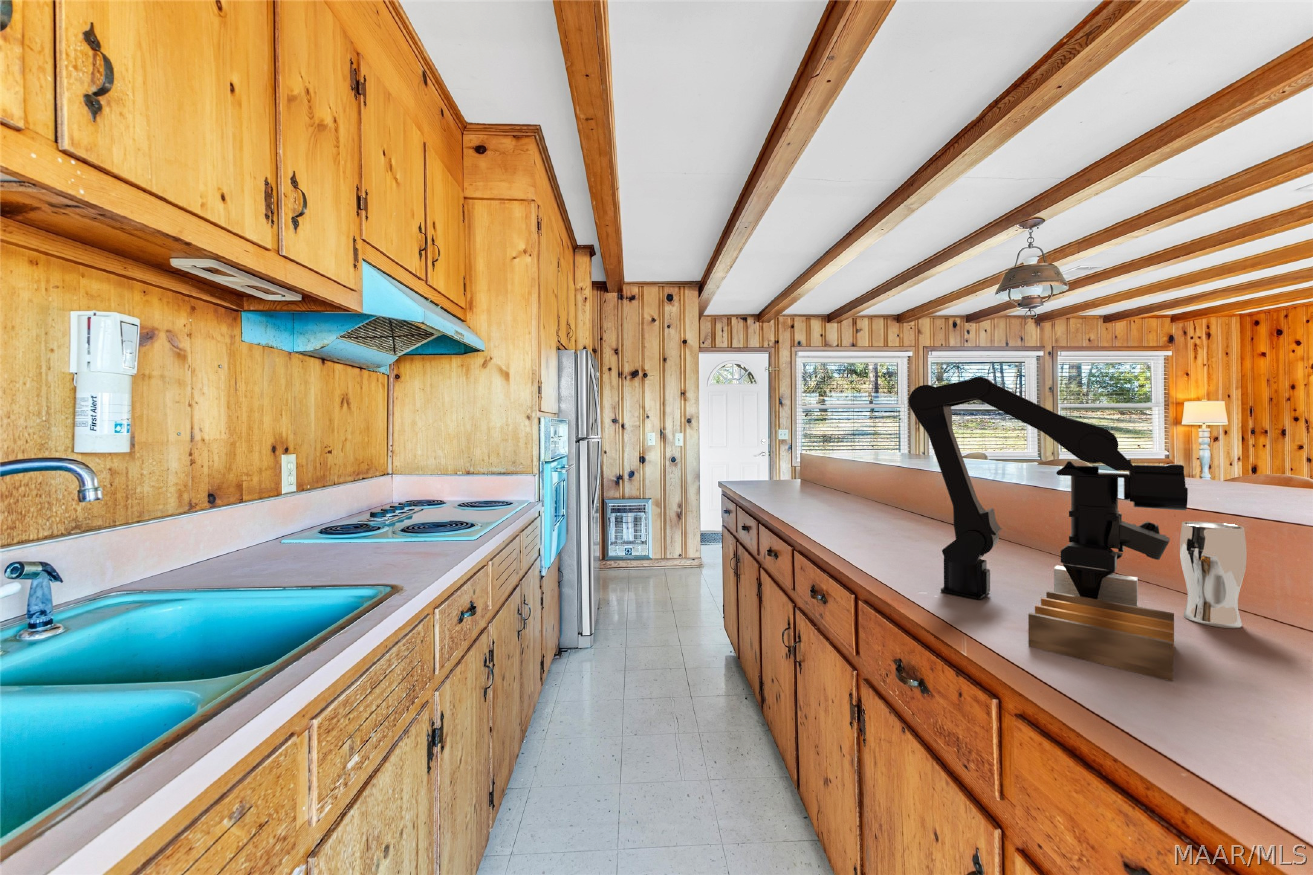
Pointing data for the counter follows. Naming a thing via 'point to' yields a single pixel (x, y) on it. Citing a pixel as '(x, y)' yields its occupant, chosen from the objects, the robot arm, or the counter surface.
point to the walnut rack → (1105, 633)
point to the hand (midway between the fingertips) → (1093, 601)
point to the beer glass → (1213, 571)
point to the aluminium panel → (1111, 587)
